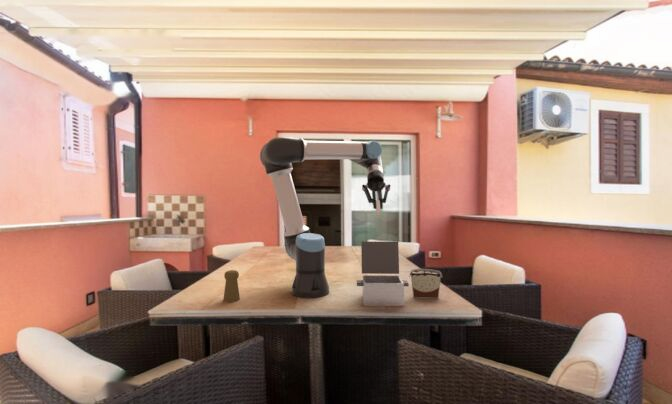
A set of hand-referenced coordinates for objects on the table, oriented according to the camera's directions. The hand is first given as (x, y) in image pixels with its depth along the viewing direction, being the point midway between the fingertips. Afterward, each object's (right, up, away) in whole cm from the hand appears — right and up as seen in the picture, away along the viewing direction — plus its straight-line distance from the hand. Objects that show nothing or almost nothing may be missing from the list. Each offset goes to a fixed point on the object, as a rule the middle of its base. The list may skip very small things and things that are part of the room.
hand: (378, 213), depth 133 cm
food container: (+17, -32, -8) cm, 37 cm away
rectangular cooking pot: (-1, -32, -14) cm, 35 cm away
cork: (-57, -32, -12) cm, 67 cm away
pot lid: (0, -17, -7) cm, 18 cm away
